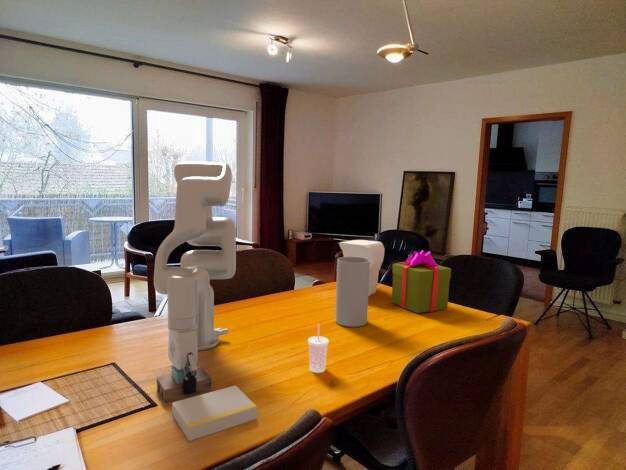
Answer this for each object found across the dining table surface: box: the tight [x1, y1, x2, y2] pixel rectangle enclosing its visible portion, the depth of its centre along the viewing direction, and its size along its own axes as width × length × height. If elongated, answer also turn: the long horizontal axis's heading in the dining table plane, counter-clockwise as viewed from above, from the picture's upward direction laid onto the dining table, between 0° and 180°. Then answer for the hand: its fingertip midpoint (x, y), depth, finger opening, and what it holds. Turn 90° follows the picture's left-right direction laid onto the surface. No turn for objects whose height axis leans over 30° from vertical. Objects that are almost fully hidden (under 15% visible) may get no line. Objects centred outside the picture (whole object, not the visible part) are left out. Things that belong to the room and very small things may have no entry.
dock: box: [171, 385, 258, 442], centre depth 99 cm, size 16×12×3 cm
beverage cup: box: [307, 322, 330, 374], centre depth 125 cm, size 6×6×14 cm
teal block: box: [170, 364, 197, 384], centre depth 111 cm, size 5×5×3 cm
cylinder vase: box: [334, 256, 370, 328], centre depth 166 cm, size 12×12×25 cm
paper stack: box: [337, 239, 386, 297], centre depth 209 cm, size 21×27×26 cm
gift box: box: [391, 249, 452, 314], centre depth 189 cm, size 21×21×25 cm
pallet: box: [156, 367, 213, 403], centre depth 111 cm, size 12×8×4 cm, turn 124°
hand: (184, 385), depth 111 cm, fingers open, 8 cm apart
